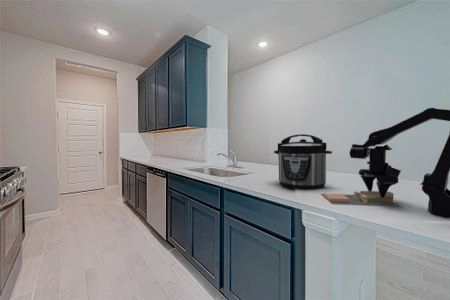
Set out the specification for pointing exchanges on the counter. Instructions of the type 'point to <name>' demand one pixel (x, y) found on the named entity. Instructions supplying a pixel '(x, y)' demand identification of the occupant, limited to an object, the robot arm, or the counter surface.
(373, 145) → the robot arm
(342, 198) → the terracotta tile
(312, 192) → the counter surface
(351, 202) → the charcoal mat
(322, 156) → the pressure cooker
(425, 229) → the counter surface
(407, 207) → the counter surface
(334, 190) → the counter surface
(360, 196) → the beech scraper
